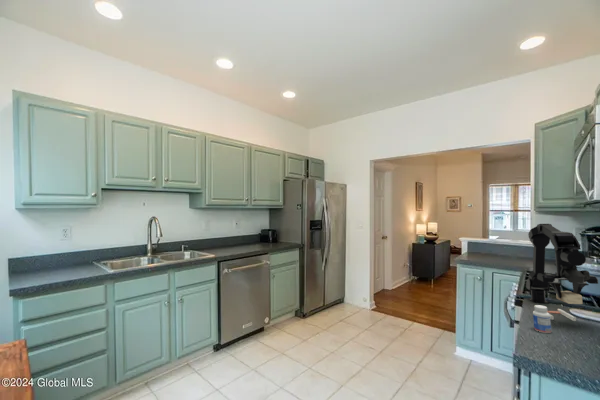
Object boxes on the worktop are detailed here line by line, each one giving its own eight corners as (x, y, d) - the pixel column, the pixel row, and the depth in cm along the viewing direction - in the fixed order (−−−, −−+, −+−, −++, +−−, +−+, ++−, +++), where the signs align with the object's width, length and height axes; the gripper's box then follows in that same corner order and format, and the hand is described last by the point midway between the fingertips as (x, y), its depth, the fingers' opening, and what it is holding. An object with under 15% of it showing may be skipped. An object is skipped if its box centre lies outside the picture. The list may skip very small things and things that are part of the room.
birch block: (556, 298, 123) (555, 290, 123) (569, 299, 122) (568, 290, 122) (568, 303, 116) (567, 295, 116) (582, 304, 115) (581, 295, 115)
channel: (537, 310, 136) (537, 307, 136) (560, 312, 134) (559, 308, 134) (551, 319, 125) (550, 316, 125) (576, 321, 122) (575, 317, 122)
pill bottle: (534, 327, 117) (532, 303, 118) (551, 330, 114) (549, 305, 115) (534, 331, 113) (532, 307, 114) (552, 334, 110) (549, 309, 110)
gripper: (548, 264, 116) (551, 302, 115) (606, 265, 110) (610, 305, 109) (535, 260, 126) (538, 295, 125) (587, 261, 121) (590, 297, 120)
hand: (568, 298), depth 120 cm, fingers closed on birch block, 5 cm apart
